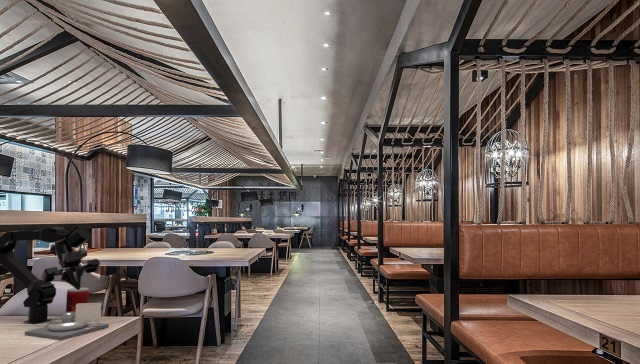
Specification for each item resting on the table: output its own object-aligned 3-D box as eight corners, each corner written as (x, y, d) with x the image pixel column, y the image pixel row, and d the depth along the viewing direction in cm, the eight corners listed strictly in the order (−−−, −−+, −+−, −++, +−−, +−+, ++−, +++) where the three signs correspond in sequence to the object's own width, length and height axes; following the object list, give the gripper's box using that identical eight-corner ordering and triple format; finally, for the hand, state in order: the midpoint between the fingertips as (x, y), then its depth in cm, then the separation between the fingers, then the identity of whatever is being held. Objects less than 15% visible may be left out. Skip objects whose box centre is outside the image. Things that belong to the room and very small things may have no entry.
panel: (24, 335, 142) (24, 330, 142) (74, 323, 159) (75, 319, 159) (61, 340, 135) (61, 335, 136) (109, 327, 152) (109, 323, 152)
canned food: (92, 314, 174) (93, 287, 176) (79, 318, 167) (80, 290, 168) (74, 314, 175) (76, 287, 176) (61, 318, 167) (62, 290, 168)
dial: (40, 331, 141) (41, 307, 141) (58, 323, 152) (59, 301, 153) (92, 329, 142) (93, 306, 143) (106, 321, 154) (107, 300, 155)
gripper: (42, 247, 151) (55, 283, 145) (97, 238, 166) (110, 271, 159) (36, 264, 157) (48, 300, 151) (89, 254, 171) (102, 287, 165)
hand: (78, 289), depth 156 cm, fingers closed
